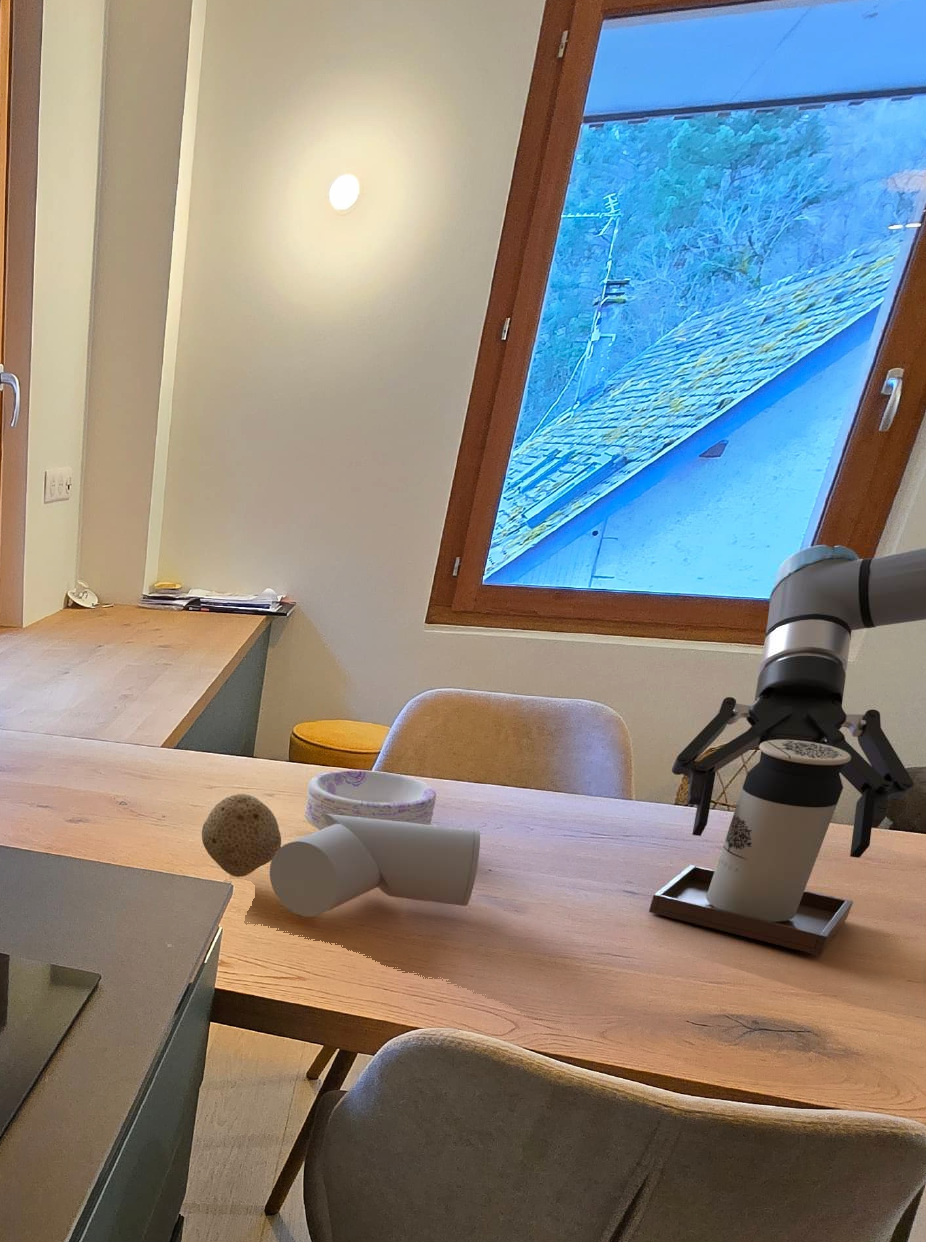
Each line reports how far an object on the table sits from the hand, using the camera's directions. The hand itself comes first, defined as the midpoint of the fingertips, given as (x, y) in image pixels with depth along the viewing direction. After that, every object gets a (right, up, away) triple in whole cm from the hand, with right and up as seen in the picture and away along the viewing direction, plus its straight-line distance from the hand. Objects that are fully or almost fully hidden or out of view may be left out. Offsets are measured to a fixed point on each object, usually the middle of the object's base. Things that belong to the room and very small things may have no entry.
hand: (777, 840), depth 108 cm
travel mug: (+1, -7, +5) cm, 9 cm away
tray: (+1, -8, +6) cm, 10 cm away
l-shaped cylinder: (-38, -6, +8) cm, 40 cm away
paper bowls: (-33, +1, +27) cm, 42 cm away
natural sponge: (-52, -3, +17) cm, 55 cm away
